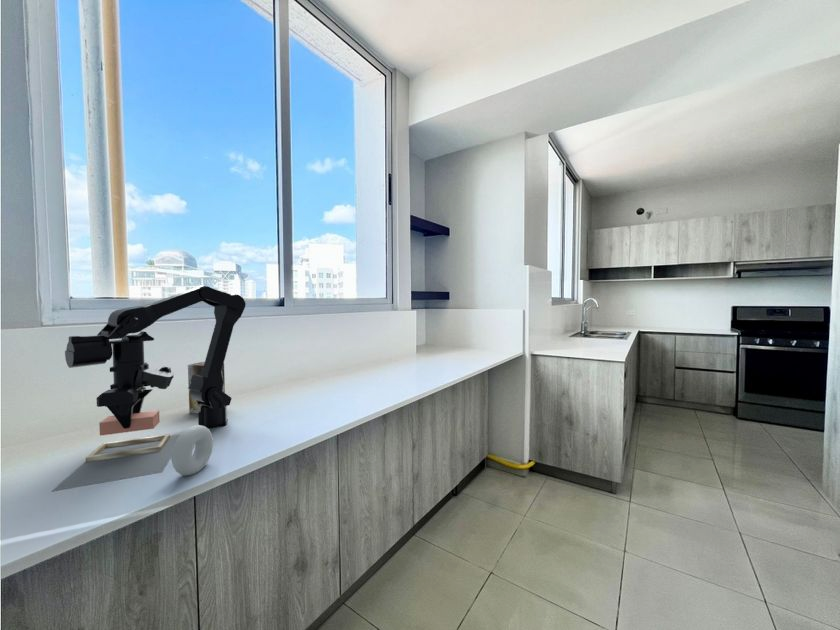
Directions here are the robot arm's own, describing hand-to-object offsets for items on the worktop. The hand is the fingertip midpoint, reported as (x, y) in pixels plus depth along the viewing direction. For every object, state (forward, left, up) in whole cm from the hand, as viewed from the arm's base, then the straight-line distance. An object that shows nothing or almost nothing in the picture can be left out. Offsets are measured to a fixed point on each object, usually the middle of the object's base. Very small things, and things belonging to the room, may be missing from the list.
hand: (131, 424), depth 81 cm
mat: (-1, +6, -6) cm, 9 cm away
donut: (-16, +19, -7) cm, 26 cm away
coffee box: (-12, -28, -7) cm, 31 cm away
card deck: (0, 0, -1) cm, 1 cm away
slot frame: (0, 0, -6) cm, 7 cm away
